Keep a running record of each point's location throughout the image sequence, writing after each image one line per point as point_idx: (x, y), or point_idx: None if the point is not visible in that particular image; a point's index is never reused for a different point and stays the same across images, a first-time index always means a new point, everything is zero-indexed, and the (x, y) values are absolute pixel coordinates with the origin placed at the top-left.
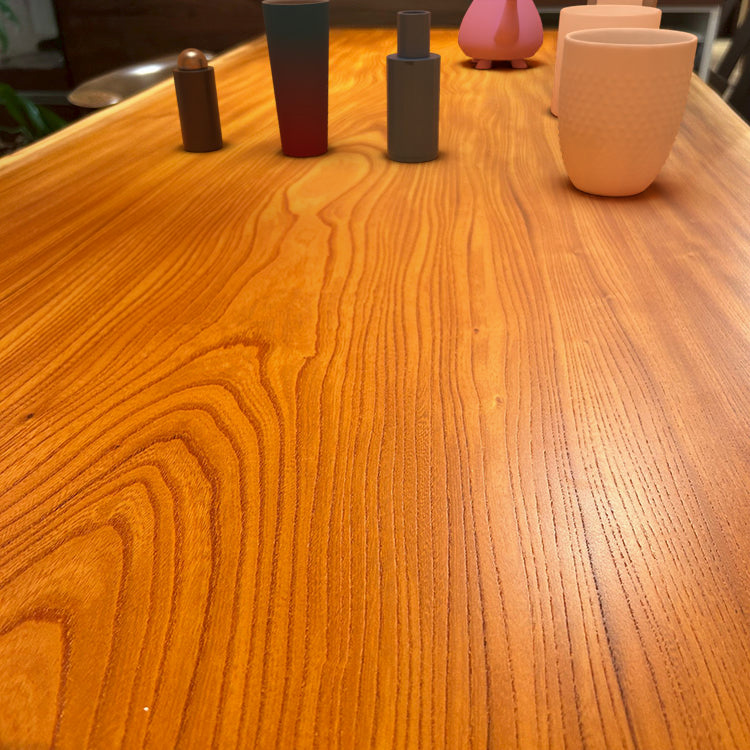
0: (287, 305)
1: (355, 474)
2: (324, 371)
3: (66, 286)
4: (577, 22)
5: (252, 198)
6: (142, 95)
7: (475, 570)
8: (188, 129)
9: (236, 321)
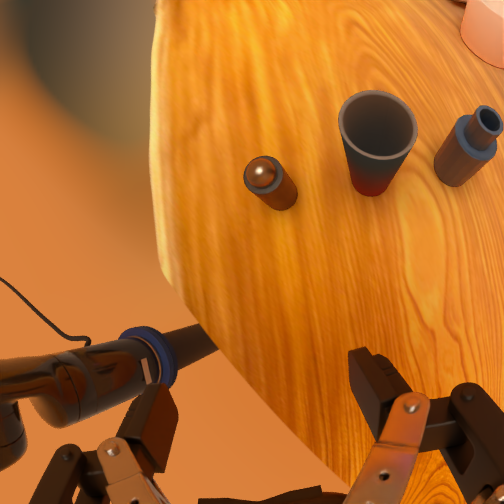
0: None
1: None
2: None
3: (348, 454)
4: (501, 21)
5: (390, 308)
6: (152, 92)
7: None
8: (275, 206)
9: (438, 454)
